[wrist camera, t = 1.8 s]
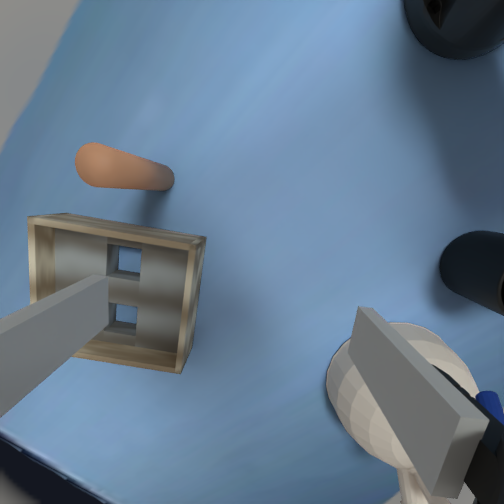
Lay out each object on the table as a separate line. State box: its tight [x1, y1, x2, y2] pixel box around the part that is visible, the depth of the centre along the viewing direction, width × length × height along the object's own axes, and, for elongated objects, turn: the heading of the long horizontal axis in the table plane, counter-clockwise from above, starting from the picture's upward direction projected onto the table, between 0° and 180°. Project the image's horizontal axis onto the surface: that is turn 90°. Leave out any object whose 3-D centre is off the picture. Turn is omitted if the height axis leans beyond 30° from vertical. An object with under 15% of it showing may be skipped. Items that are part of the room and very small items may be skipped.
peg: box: [75, 143, 174, 191], centre depth 27 cm, size 3×3×14 cm
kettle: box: [326, 322, 504, 504], centre depth 31 cm, size 20×21×18 cm
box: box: [27, 213, 206, 374], centre depth 34 cm, size 18×20×6 cm
